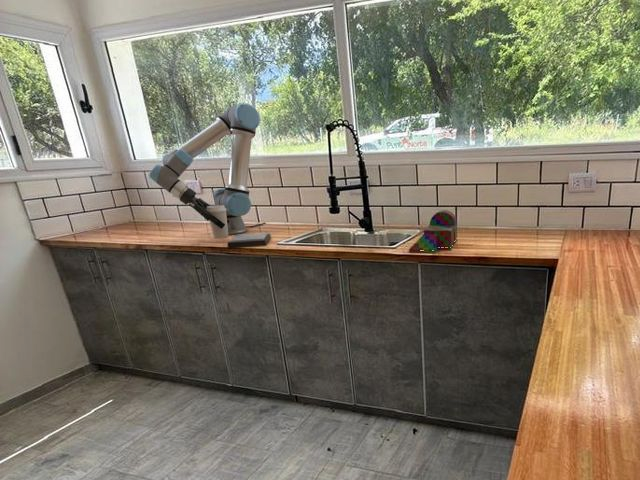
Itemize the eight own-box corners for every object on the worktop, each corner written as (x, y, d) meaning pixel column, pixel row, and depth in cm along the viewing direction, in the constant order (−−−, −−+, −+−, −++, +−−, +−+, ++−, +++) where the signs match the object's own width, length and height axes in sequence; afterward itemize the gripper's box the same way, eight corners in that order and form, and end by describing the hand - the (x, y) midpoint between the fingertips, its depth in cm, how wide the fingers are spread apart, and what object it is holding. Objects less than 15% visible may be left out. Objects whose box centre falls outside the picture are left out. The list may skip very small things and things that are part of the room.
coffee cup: (235, 235, 224) (229, 204, 219) (225, 239, 215) (219, 207, 210) (217, 235, 225) (211, 205, 220) (207, 239, 216) (200, 208, 211)
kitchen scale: (235, 240, 224) (234, 234, 223) (271, 238, 226) (270, 232, 225) (228, 247, 208) (226, 241, 207) (266, 245, 210) (265, 238, 209)
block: (421, 240, 212) (420, 209, 207) (456, 240, 209) (456, 209, 204) (409, 252, 189) (408, 218, 184) (449, 253, 186) (449, 218, 181)
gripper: (186, 196, 221) (225, 226, 229) (171, 202, 200) (215, 235, 209) (195, 185, 220) (234, 215, 228) (181, 189, 199) (225, 222, 208)
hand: (225, 224), depth 218 cm, fingers closed on coffee cup, 10 cm apart
